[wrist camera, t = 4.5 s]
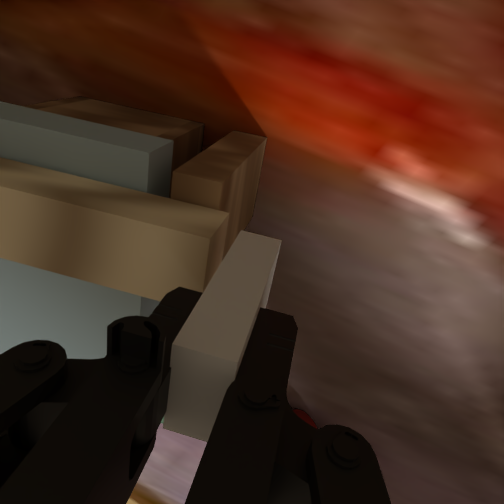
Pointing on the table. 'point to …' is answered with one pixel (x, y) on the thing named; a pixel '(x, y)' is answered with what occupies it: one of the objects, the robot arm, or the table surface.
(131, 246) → the tan long bar
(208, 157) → the toolbox
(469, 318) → the table surface
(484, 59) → the table surface
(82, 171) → the lid
